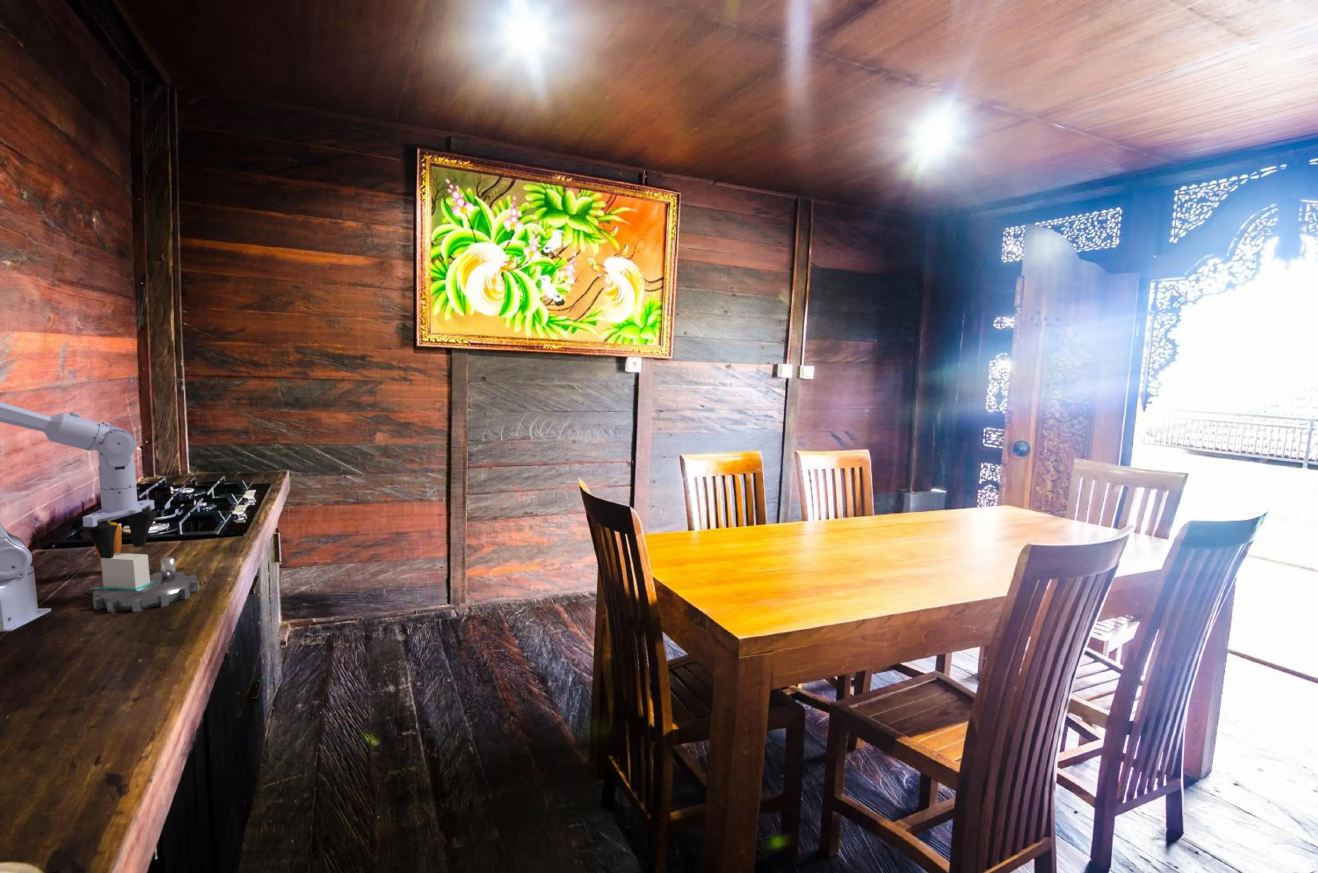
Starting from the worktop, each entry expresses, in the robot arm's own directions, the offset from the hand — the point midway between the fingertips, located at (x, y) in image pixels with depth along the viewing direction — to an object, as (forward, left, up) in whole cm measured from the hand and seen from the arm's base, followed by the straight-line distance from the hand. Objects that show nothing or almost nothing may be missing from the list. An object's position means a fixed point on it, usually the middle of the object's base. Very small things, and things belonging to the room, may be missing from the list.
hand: (123, 552), depth 137 cm
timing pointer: (+1, +6, -9) cm, 11 cm away
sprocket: (-1, -5, -9) cm, 10 cm away
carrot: (+14, +12, -10) cm, 21 cm away
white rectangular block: (0, 0, -7) cm, 7 cm away
